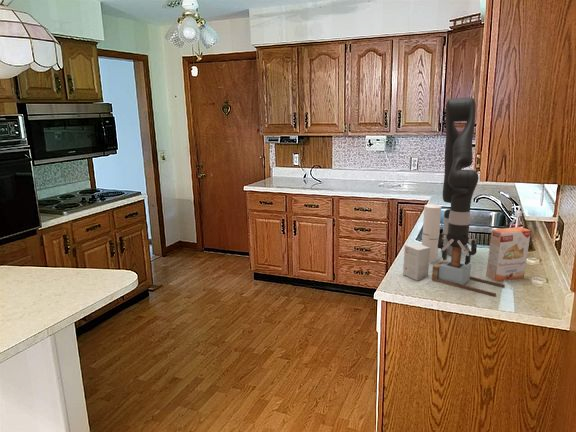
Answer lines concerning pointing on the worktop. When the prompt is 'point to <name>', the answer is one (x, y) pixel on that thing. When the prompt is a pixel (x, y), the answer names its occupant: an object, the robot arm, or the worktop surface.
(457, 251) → the dowel
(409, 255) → the small box
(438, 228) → the cylindrical container
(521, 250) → the cracker box
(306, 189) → the worktop surface
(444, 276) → the grey square collar
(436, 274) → the track
